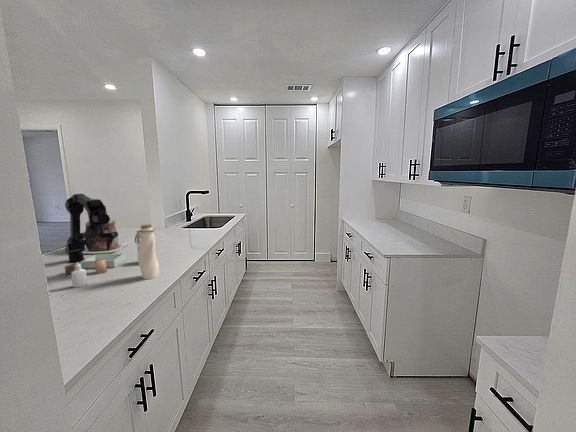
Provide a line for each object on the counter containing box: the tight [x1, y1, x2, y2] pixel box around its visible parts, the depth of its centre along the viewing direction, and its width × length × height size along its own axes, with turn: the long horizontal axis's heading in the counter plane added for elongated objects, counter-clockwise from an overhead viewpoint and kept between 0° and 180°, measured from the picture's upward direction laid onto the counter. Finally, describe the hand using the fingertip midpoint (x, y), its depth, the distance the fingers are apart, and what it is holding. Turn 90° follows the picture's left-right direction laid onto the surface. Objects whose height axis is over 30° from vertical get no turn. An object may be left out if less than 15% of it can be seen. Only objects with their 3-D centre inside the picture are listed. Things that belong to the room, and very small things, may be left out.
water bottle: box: [134, 223, 160, 280], centre depth 140 cm, size 10×9×28 cm
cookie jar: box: [82, 205, 129, 255], centre depth 191 cm, size 25×25×32 cm
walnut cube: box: [64, 262, 82, 276], centre depth 147 cm, size 5×5×5 cm
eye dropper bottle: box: [70, 262, 88, 289], centre depth 130 cm, size 4×6×12 cm
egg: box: [94, 259, 108, 275], centre depth 149 cm, size 5×5×7 cm
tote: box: [80, 253, 126, 270], centre depth 162 cm, size 18×14×4 cm
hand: (99, 250), depth 147 cm, fingers open, 9 cm apart
